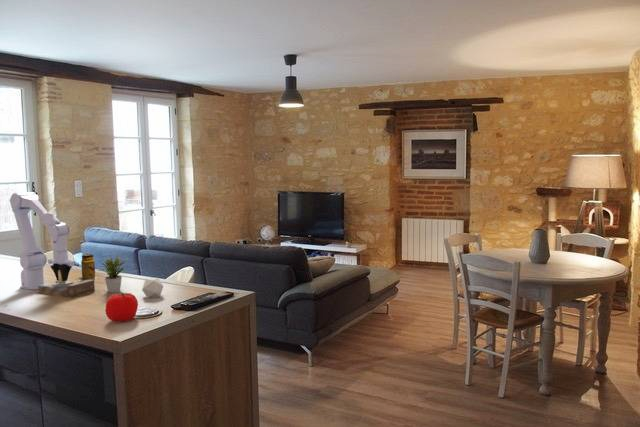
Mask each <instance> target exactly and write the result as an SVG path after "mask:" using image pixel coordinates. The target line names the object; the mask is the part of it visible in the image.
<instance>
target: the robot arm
mask: <svg viewBox="0 0 640 427" xmlns="http://www.w3.org/2000/svg"><path fill="white" fill-rule="evenodd" d="M39 198H40V197H39V196H38V194H36V192H34V191H30V192H28V191H27V192H14V193H12V194H11V196H10V199H9V204H10V206H11V209H12V213H13V216H14V219H15V222H16V226H17V229H18V231H19V236H20V239H21V243H22V246H23V250H22V251H21V252H20V254H19V264H20V266H21V267H22V270H21V272H20V282H21V286H20V287H19V288H20V289H25V290H31V291H32V290H34V291H35V290H37V289H38V285H47V286H50V285H49V284H45V279H44V268H45V266H46V265H47V263H48V264H49V265H50V264H51V265H50V268H51V270H52V271H53V273H54V275H55V278H56V281H59V277H58V270H60V272H61V277H62V281H68V279H69V274H70V270H71V269H72V267H73V266H76V265H75V260H71V259H69V256H68V255H69V254H68V239H67V238H68V237H67V236H68V235H69V233H70V227H69V225H68V224H67V223H66V222H62V221H60V220H59V219H58V217H56V216H55V214H54V213H53V212H49V211H48V210H46V208H45V207H44V206H43V205H42V203H41V202H40V200H39ZM30 211H33V212H35V213H36V214H37V216H39V217H40V222H41V223H42V224H43V225H44V226H45V227H46V229H47V230H48V235H49V236H50V240H51V242H52V255H53V258H47V256H46V254H45V252H44V249H42V248H41V247H39V246H38V245H37V242H36V239H35V235H34V231H33V228H32V224H31V221H30V216H29V213H30Z"/></svg>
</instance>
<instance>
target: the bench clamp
mask: <svg viewBox="0 0 640 427" xmlns="http://www.w3.org/2000/svg"><path fill="white" fill-rule="evenodd" d="M72 282H73V284H70V285H67V288H62V287H56V286H52V284H51V285H49V286H47V285H48V284H45V285H38V289H36V293H39V294H45V295H51V296H53V295H54V296H59V297H66V298H75V297H79V296H82V295H85V294H90V293H93V292H95V291H96V289H95V288H96V287H95V279H93V280H90V279H89V280H83V281H78V282H76V281H75V282H74V281H72ZM55 283H59V281H57V280H55Z"/></svg>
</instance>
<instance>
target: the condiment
mask: <svg viewBox="0 0 640 427" xmlns="http://www.w3.org/2000/svg"><path fill="white" fill-rule="evenodd" d="M95 262H96V261H95V259H94V254H92V253H87V254H86V253H85V254H82V255H81V261H80V264H81V265H80V266H81V277H76V280H77V281H78V282H82V281H85V280H89V279H90V280H98V278H97V277H96V265H95Z"/></svg>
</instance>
